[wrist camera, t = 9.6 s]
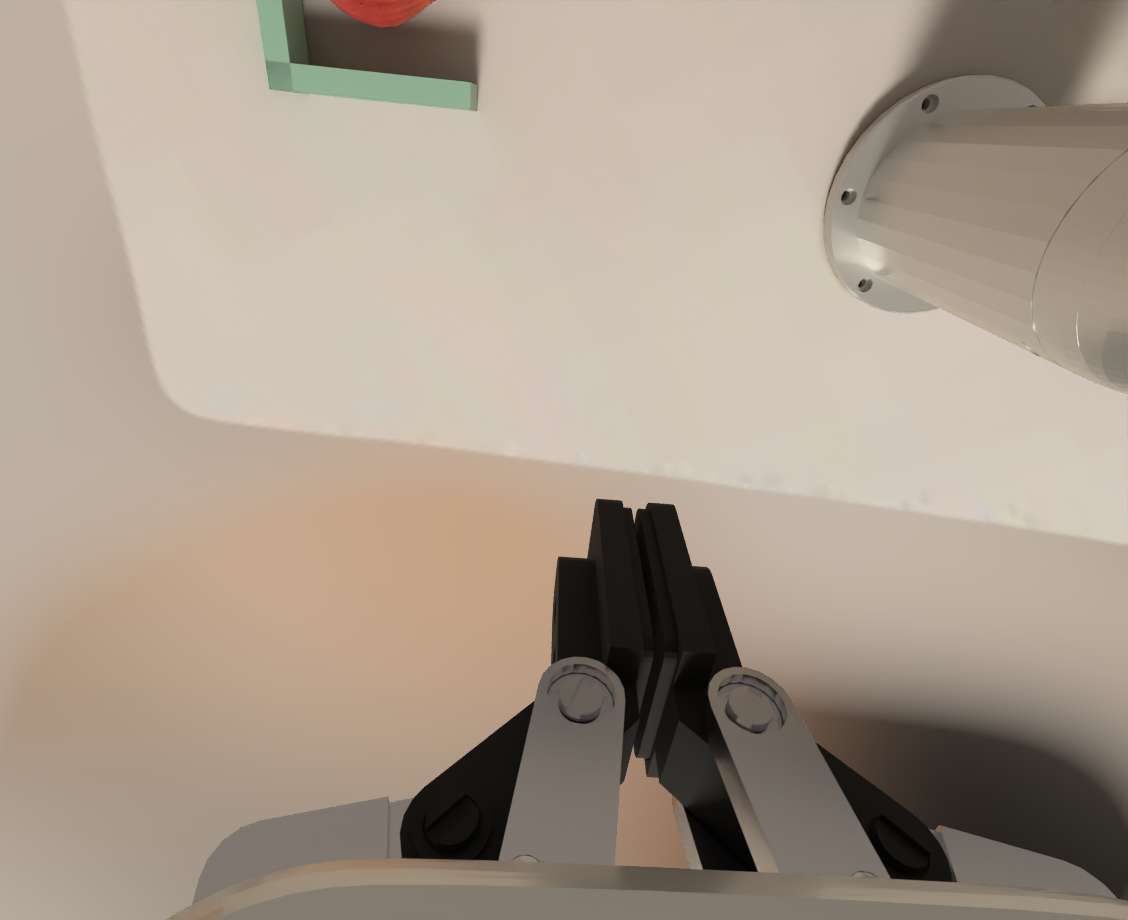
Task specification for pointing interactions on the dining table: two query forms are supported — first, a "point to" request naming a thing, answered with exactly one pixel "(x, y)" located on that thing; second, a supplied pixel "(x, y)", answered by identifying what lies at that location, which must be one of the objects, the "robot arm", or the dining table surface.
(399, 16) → the onion
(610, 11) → the dining table surface
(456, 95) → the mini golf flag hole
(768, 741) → the robot arm
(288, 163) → the dining table surface
